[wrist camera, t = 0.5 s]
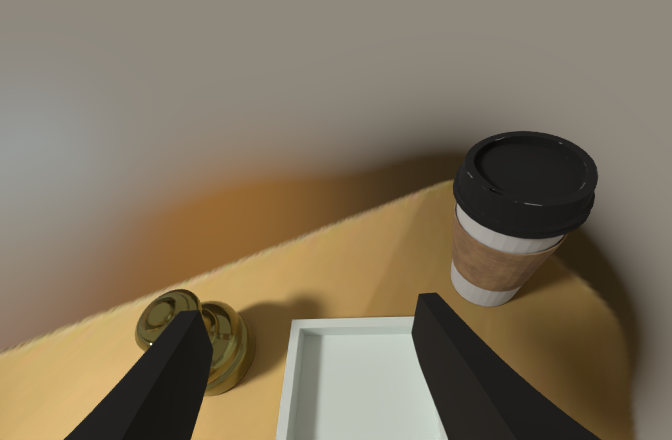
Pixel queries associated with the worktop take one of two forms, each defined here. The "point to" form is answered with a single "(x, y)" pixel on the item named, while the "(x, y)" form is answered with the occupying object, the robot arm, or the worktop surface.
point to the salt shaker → (223, 329)
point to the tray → (355, 383)
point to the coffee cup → (515, 210)
